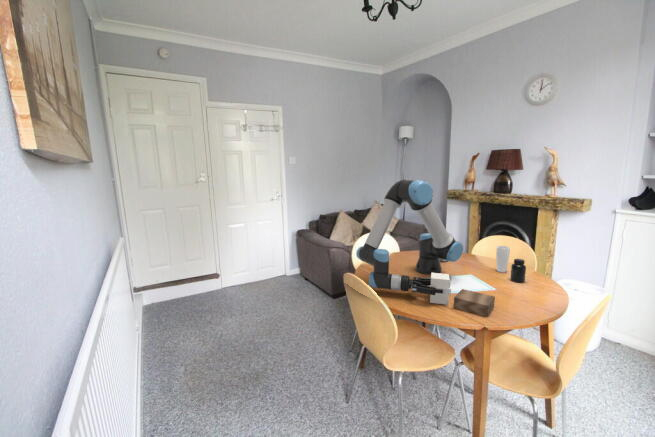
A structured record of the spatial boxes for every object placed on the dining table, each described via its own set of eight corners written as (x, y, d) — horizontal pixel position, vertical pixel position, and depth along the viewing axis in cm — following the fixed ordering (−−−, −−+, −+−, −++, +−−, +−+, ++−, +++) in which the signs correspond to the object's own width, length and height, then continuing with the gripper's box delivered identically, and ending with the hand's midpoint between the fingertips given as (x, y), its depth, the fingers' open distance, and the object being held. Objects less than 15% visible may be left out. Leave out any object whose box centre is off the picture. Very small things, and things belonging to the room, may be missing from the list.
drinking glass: (492, 269, 188) (494, 245, 185) (503, 269, 188) (505, 245, 186) (499, 273, 181) (501, 248, 178) (510, 272, 182) (512, 248, 179)
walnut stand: (453, 307, 138) (454, 297, 137) (461, 298, 147) (462, 289, 146) (487, 317, 129) (488, 305, 128) (494, 306, 138) (494, 296, 138)
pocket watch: (448, 259, 208) (449, 245, 207) (449, 263, 201) (449, 248, 199) (435, 258, 211) (436, 244, 209) (435, 262, 203) (436, 247, 202)
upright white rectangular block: (429, 302, 144) (430, 278, 142) (430, 295, 151) (431, 272, 149) (448, 304, 141) (449, 280, 139) (447, 297, 148) (448, 274, 147)
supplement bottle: (526, 283, 165) (529, 262, 163) (512, 282, 167) (514, 261, 165) (521, 278, 172) (523, 258, 170) (508, 278, 173) (510, 257, 171)
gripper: (402, 282, 161) (449, 287, 154) (398, 298, 142) (450, 305, 134) (403, 268, 160) (450, 273, 152) (398, 283, 141) (451, 288, 133)
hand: (450, 288), depth 143 cm, fingers closed on upright white rectangular block, 8 cm apart
